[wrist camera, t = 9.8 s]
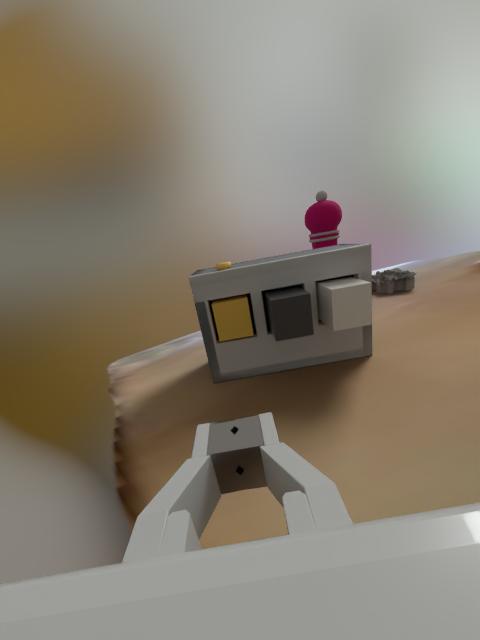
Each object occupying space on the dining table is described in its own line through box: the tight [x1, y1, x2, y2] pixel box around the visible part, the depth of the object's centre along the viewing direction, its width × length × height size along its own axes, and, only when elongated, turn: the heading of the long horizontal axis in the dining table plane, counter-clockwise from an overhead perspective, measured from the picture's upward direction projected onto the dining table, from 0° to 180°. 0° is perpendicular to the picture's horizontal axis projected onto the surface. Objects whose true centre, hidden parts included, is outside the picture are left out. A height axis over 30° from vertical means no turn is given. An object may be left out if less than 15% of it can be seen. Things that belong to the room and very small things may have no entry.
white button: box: [316, 277, 372, 331], centre depth 24 cm, size 4×4×4 cm
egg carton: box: [371, 268, 416, 294], centre depth 51 cm, size 11×8×4 cm
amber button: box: [212, 294, 253, 341], centre depth 27 cm, size 4×4×4 cm
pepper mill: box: [305, 191, 342, 249], centre depth 43 cm, size 7×7×20 cm
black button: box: [264, 286, 314, 342], centre depth 24 cm, size 4×4×4 cm
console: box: [189, 244, 372, 383], centre depth 28 cm, size 18×6×13 cm, turn 92°
